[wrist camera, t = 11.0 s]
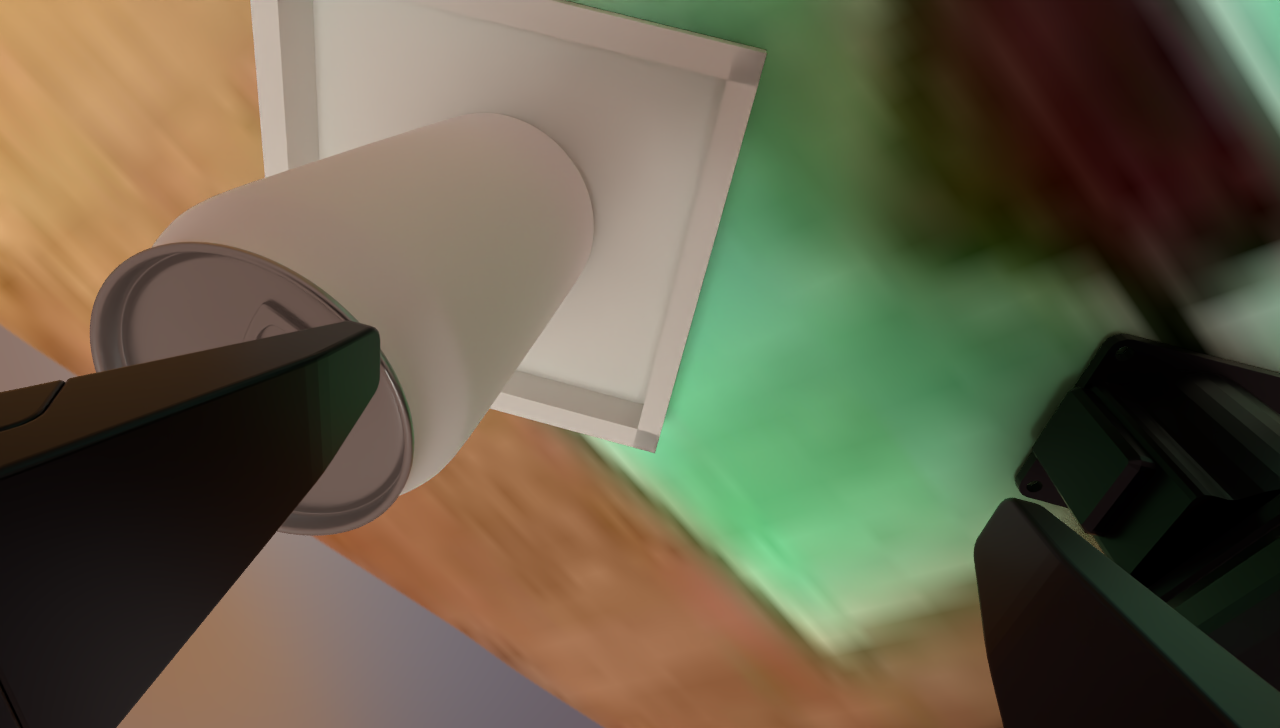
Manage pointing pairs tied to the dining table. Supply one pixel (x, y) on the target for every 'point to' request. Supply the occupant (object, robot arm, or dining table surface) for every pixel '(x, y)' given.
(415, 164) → the can
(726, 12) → the dining table surface
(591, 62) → the tray
